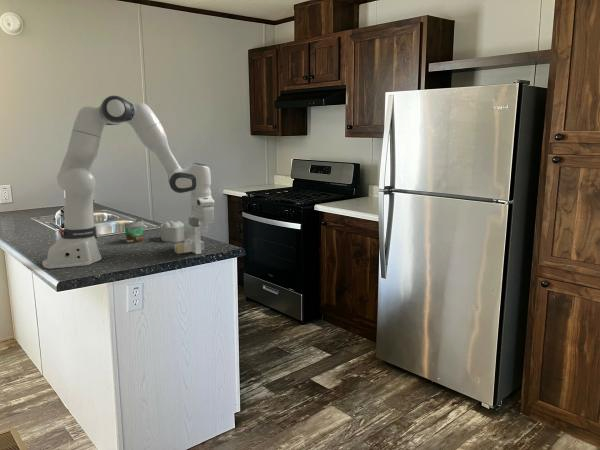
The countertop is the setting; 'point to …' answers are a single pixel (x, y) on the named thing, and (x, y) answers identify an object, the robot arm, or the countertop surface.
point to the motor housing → (193, 234)
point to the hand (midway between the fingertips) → (201, 230)
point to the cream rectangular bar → (186, 247)
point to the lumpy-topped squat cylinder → (172, 231)
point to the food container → (134, 231)
